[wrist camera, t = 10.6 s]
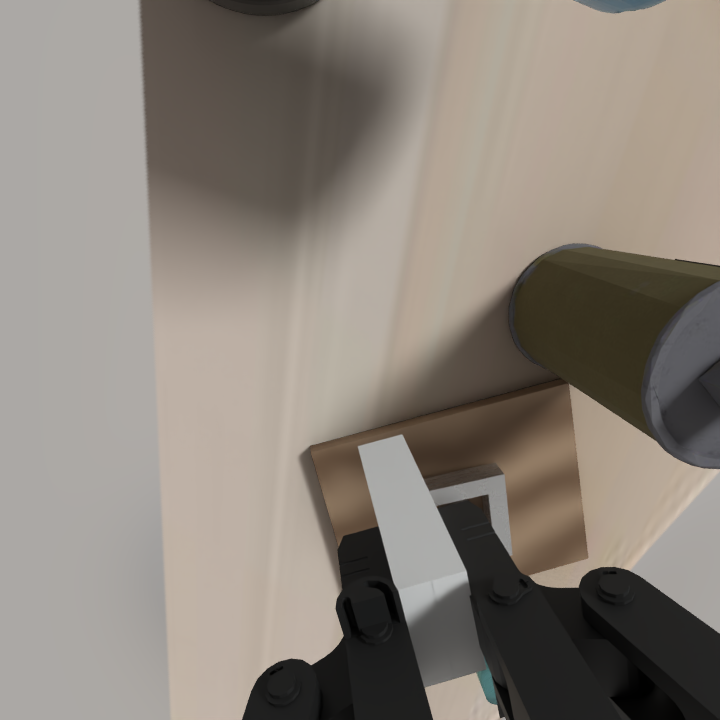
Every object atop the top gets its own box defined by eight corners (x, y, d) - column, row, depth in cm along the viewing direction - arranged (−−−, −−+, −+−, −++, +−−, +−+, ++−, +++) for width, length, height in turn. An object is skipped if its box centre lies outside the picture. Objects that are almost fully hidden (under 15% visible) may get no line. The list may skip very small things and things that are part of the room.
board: (310, 445, 43) (313, 490, 36) (561, 378, 44) (609, 410, 38) (359, 613, 49) (369, 678, 42) (581, 550, 50) (626, 603, 43)
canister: (557, 393, 45) (753, 535, 26) (482, 308, 42) (641, 399, 23) (656, 304, 43) (940, 385, 24) (586, 210, 40) (849, 219, 21)
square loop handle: (403, 482, 43) (425, 537, 36) (495, 462, 44) (534, 512, 37) (430, 641, 49) (453, 716, 42) (512, 621, 49) (549, 691, 42)
